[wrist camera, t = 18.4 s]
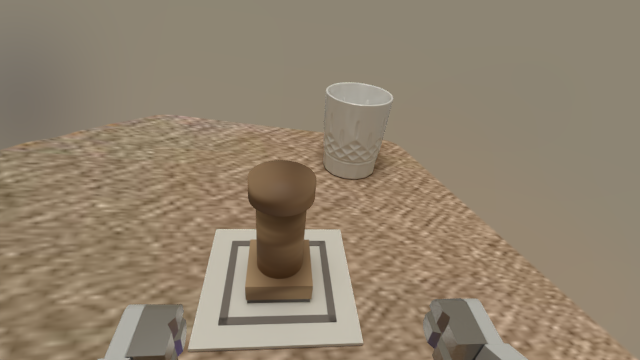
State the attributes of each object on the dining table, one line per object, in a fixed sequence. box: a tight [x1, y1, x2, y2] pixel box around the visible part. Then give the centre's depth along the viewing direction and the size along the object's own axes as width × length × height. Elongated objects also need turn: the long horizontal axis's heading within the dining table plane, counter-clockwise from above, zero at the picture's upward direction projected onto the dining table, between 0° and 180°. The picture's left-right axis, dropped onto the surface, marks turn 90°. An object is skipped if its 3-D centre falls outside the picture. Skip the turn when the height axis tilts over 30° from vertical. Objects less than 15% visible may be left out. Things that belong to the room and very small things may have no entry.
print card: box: [188, 229, 363, 352], centre depth 29 cm, size 12×12×1 cm
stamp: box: [245, 160, 316, 303], centre depth 26 cm, size 5×5×10 cm
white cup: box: [323, 82, 393, 179], centre depth 43 cm, size 8×8×10 cm
